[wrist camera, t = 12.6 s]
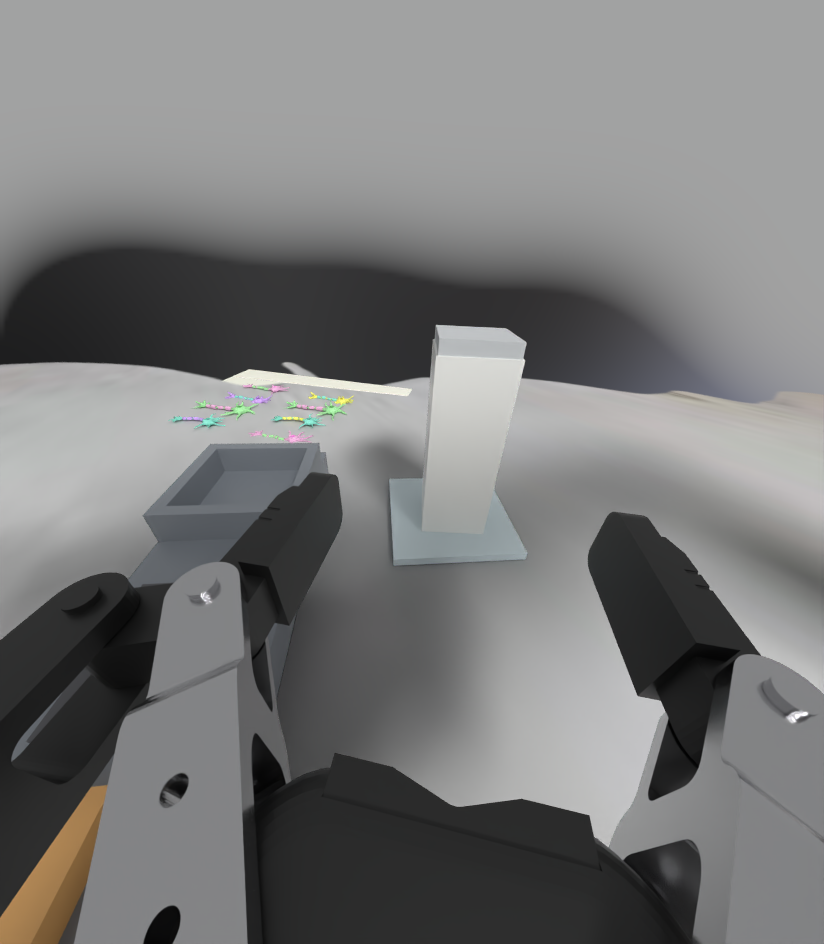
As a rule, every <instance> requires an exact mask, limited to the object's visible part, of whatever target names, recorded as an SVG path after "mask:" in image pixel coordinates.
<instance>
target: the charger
mask: <svg viewBox="0 0 824 944" xmlns="http://www.w3.org/2000/svg"><path fill="white" fill-rule="evenodd" d="M525 347H526V342H525V341H523V340H522V339H521V338H519V337H518V336H516V335H515V334H513V333H512V332H511V331H509V330H507V329H505V328H485V327H464V326H445V325H436V331H435V339H433V349H432V362H431V375H430V388H429V401H428V414H427V428H426V441H425V454H424V468H423V481H422V531H426V532H446V533H467V534H483V533H484V528H485V524H486V520H487V516H488V512H489V508H490V504H491V500H492V495H493V491H494V487H495V483H496V479H497V475H498V471H499V466H500V462H501V458H502V454H503V450H504V446H505V442H506V437H507V433H508V429H509V425H510V421H511V417H512V413H513V409H514V404H515V400H516V396H517V392H518V388H519V384H520V380H521V375H522V371H523V367H524V363H525V360H524V359H523V356H524V352H525Z"/></svg>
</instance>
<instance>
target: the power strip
mask: <svg viewBox="0 0 824 944" xmlns="http://www.w3.org/2000/svg"><path fill="white" fill-rule="evenodd" d="M311 472H318V473H325V474H329V473H328V466H327V459H326V452H320V446H319V443H276V444H210V445H209V446H208V447H207V448H206V449H205V450H204V451H203V453H202V454H201V455H200V456H199V457H198V458H197V459H196V460H195V461H194V462H193V463H192V464H191V465H190V466H189V467H188V468H187V469H186V470H185V471H184V473H183V474H182V475H181V476H180V477H179V478H178V479H177V480H176V481H175V482H174V483H173V484H172V485H171V486H170V487H169V488H168V489H167V490H166V492H165V493H164V494H163V495H162V496H161V497H160V498H159V499H158V500H157V501H156V502H155V503H154V504H153V505H152V506H151V507H150V508H149V509H148V511H147V512H146V513H145V514H144V515H143V517H144V519H145V520H146V522H147V524H148V525H149V527H150V529H151V530H152V532H153V533H154V535H155V537H156V538H157V540H158V543H157V544H156V545H155V547H154V548H153V549H152V550H151V552H150V553H149V554H148V555H147V557H146V558H145V559H144V560H143V562H142V563H141V564H140V565H139V567H138V568H137V569H136V570H135V572H134V573H133V574H132V575H131V577H130V578H129V579H128V581H129V582H130V583H131V584H132V586H133V587H134V588H137V587H145V586H153V585H162V584H170V583H174V582H175V581H176V580H178V579H179V578H180V577H181V576H182V575H184V574H185V573H187V572H188V571H190V570H192V569H194V568H196V567H198V566H201V565H204V564H207V563H212V562H219V561H220V560H221V559H222V558H223V557H224V556H225V555H226V554H227V552H228V551H229V550H230V549H231V548H232V547H233V546H234V544H235V543H236V542H237V541H238V540H239V539H240V538H241V536H242V535H243V534H244V533H245V532H246V531H247V529H248V528H249V527H250V526H251V525H252V524H253V523H254V521H255V520H256V519H257V520H258V519H259V516H260V515H261V513H262V512H263V511H264V510H265V509H267V507H268V505H269V504H270V503H271V502H272V501H273V500H274V499H275V497H276V496H277V495H278V494H280V493H282V492H283V491H285V490H286V489H288V488H290V487H291V486H299V485H300V484H301V483H302V482H303V480H304V479H305V478H306V477H307V476H308V474H309V473H311ZM296 614H297V612H296ZM296 614H295V616H294V618H293V620H292V622H291V624H290V626H288V625H283V624H278V623H274V625H273V627H272V629H271V631H270V632H269V634H268V640H269V648H270V656H271V663H272V671H273V679H274V687H275V694H276V699H277V695H278V691H279V686H280V682H281V678H282V674H283V669H284V665H285V661H286V656H287V652H288V648H289V644H290V639H291V635H292V631H293V627H294V622H295V618H296ZM90 675H91V674H90V673H89V672H88V671H87V670H85V669H83V670H82V671H81V672H80V674H79V675H78V676H77V677H76V678H75V679H74V680H73V681H72V682H71V683H70V684H69V685H68V687H67V688H66V689H65V690H64V691H63V692H62V693H61V694H60V695H59V696H58V697H57V698H56V700H55V701H54V702H53V703H52V704H51V705H50V706H49V707H48V708H47V709H46V710H45V712H44V713H43V714H42V715H41V716H40V717H39V718H38V719H37V720H36V721H35V722H34V723H33V725H32V726H31V727H30V728H29V729H28V730H27V731H26V732H25V733H24V735H23V736H22V737H21V739H20V740H19V741H18V743H17V745H16V747H15V749H14V751H13V754H12V759H11V762H12V761H13V760H14V759H15V758H16V757H18V756H19V755H20V754H21V753H22V752H23V750H24V749H25V748H26V747H27V746H28V745H29V744H30V743H31V741H32V740H33V739H34V738H35V737H36V736H37V735H38V734H39V732H40V731H41V730H42V729H43V728H44V727H45V726H46V725H47V723H48V722H49V721H50V720H51V719H52V718H53V717H54V716H55V714H56V713H57V712H58V711H59V710H60V709H61V708H62V707H63V705H64V704H65V703H66V702H67V701H68V700H69V699H70V698H71V697H72V695H73V694H74V693H75V692H76V691H77V690H78V689H79V688H80V686H81V685H82V684H83V683H84V682H85V681H86V680H87V679H88V677H89V676H90ZM113 758H114V755H113V756H112V758H111V759H110V761H109V762H108V764H107V765H106V766H105V768H104V769H103V771H102V772H101V774H100V775H99V777H98V778H97V779H96V781H95V782H94V784H93V785H92V787H91V788H90V789H89V791H88V792H87V794H86V795H85V797H84V798H83V799H82V801H81V802H80V804H79V805H78V807H77V808H76V810H75V811H74V812H73V814H72V815H71V817H70V818H69V820H68V821H67V822H66V824H65V825H64V827H63V828H62V830H61V831H60V833H59V834H58V835H57V837H56V838H55V840H54V841H53V843H52V844H51V845H50V847H49V848H48V850H47V851H46V853H45V854H44V856H43V857H42V858H41V860H40V861H39V863H38V864H37V866H36V867H35V868H34V870H33V871H32V873H31V874H30V876H29V877H28V878H27V880H26V881H25V883H24V884H23V886H22V887H21V889H20V890H19V891H18V893H17V894H16V896H15V897H14V899H13V900H12V901H11V903H10V904H9V906H8V907H7V909H6V910H5V912H4V913H3V914H2V916H1V917H0V944H74V941H75V936H76V932H77V927H78V922H79V918H80V913H81V908H82V903H83V899H84V894H85V889H86V885H87V880H88V875H89V871H90V866H91V861H92V857H93V852H94V847H95V842H96V838H97V833H98V828H99V824H100V819H101V814H102V810H103V805H104V800H105V795H106V791H107V786H108V781H109V777H110V772H111V767H112V763H113Z"/></svg>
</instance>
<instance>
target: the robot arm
mask: <svg viewBox="0 0 824 944" xmlns="http://www.w3.org/2000/svg"><path fill="white" fill-rule="evenodd" d="M341 522H342V506H341V498H340V490H339V482H338V478H337V476H336V475H333V474H325V473H318V472H311V473H309V474H308V476H307V477H306V478H305V479H304V480H303V482H302V483H301V484H300V485H299V486H291V487H290V488H288V489H286V490H285V491H283V492H282V493H280V494H278V495H277V496H276V497H275V499H274V500H273V501H272V502H271V503H270V504H269V505H268V507H267V509H265V510H264V511H263V512H262V513H261V515H260V516H259V519H258V520H257V519H256V520H255V521H254V523H253V524H252V525H251V526H250V527H249V528H248V529H247V531H246V532H245V533H244V534H243V535H242V536H241V538H240V539H239V540H238V541H237V542H236V543H235V544H234V546H233V547H232V548H231V549H230V550H229V551H228V552H227V554H226V555H225V556H224V557H223V558H222V559H221V560H220V561H219V562H212V563H207V564H204V565H201V566H198V567H196V568H194V569H192V570H190V571H188V572H187V573H185V574H184V575H182V576H181V577H180V578H179V579H178V580H176V581H175V582H174V583H170V584H162V585H153V586H145V587H137V588H134V587H133V586H132V584H131V583H130V582H129V581H128V579H127V578H126V577H125V576H124V575H122V574H119V573H102V574H97V575H94V576H90V577H88V578H85V579H82V580H80V581H78V582H76V583H74V584H72V585H70V586H68V587H67V588H65V589H64V590H62V591H60V592H59V593H58V594H56V595H55V596H54V597H52V598H51V599H50V600H49V601H48V602H46V603H45V604H44V605H43V606H41V607H40V608H39V609H38V610H37V611H35V612H34V613H33V614H32V615H31V616H29V617H28V618H27V619H26V620H24V621H23V622H22V623H21V624H20V625H18V626H17V627H16V628H15V629H13V630H12V631H11V632H10V633H9V634H7V635H6V636H5V637H4V638H3V639H1V640H0V917H1V916H2V914H3V913H4V912H5V910H6V909H7V907H8V906H9V904H10V903H11V901H12V900H13V899H14V897H15V896H16V894H17V893H18V891H19V890H20V889H21V887H22V886H23V884H24V883H25V881H26V880H27V878H28V877H29V876H30V874H31V873H32V871H33V870H34V868H35V867H36V866H37V864H38V863H39V861H40V860H41V858H42V857H43V856H44V854H45V853H46V851H47V850H48V848H49V847H50V845H51V844H52V843H53V841H54V840H55V838H56V837H57V835H58V834H59V833H60V831H61V830H62V828H63V827H64V825H65V824H66V822H67V821H68V820H69V818H70V817H71V815H72V814H73V812H74V811H75V810H76V808H77V807H78V805H79V804H80V802H81V801H82V799H83V798H84V797H85V795H86V794H87V792H88V791H89V789H90V788H91V787H92V785H93V784H94V782H95V781H96V779H97V778H98V777H99V775H100V774H101V772H102V771H103V769H104V768H105V766H106V765H107V764H108V762H109V761H110V759H111V758H112V756H113V755H114V758H113V763H112V767H111V772H110V777H109V781H108V786H107V791H106V795H105V800H104V805H103V810H102V814H101V819H100V824H99V828H98V833H97V838H96V842H95V847H94V852H93V857H92V861H91V866H90V871H89V875H88V880H87V885H86V889H85V894H84V899H83V903H82V908H81V913H80V918H79V922H78V927H77V932H76V936H75V941H74V944H824V694H823V693H822V692H821V691H820V690H819V689H818V688H816V687H815V686H814V685H813V684H811V683H810V682H809V681H808V680H806V679H805V678H804V677H802V676H801V675H799V674H798V673H796V672H795V671H793V670H792V669H790V668H788V667H786V666H785V665H783V664H781V663H779V662H776V661H774V660H772V659H769V658H766V657H763V656H761V655H760V654H759V652H758V651H757V650H756V648H755V647H754V646H753V644H752V643H751V642H750V640H749V639H748V638H747V636H746V635H745V634H744V632H743V631H742V630H741V628H740V627H739V626H738V624H737V623H736V621H735V620H734V619H733V617H732V616H731V615H730V613H729V612H728V611H727V609H726V608H725V607H724V605H723V604H722V603H721V601H720V600H719V599H718V597H717V596H716V595H715V593H714V592H713V591H711V590H709V585H708V584H707V583H706V581H705V580H704V579H703V577H702V576H701V575H698V571H697V569H696V568H695V566H694V565H693V564H692V562H691V561H690V560H689V558H688V557H687V556H686V554H685V553H684V552H682V551H681V550H680V549H679V548H678V547H676V546H675V545H674V544H673V543H671V542H670V541H669V540H668V539H667V538H665V537H661V536H660V534H659V533H658V532H657V530H656V529H655V527H654V526H653V524H652V523H651V522H650V520H649V519H648V518H647V517H645V516H642V515H635V514H627V513H619V512H612V513H610V514H609V515H608V516H607V518H606V520H605V522H604V523H603V525H602V527H601V529H600V531H599V533H598V535H597V537H596V538H595V540H594V542H593V544H592V546H591V548H590V550H589V554H588V567H589V571H590V573H591V576H592V579H593V581H594V584H595V586H596V589H597V592H598V594H599V597H600V599H601V602H602V605H603V607H604V610H605V612H606V615H607V618H608V620H609V623H610V625H611V628H612V631H613V633H614V636H615V638H616V641H617V644H618V646H619V649H620V651H621V654H622V657H623V659H624V662H625V664H626V667H627V670H628V672H629V675H630V677H631V680H632V683H633V685H634V688H635V690H636V693H637V696H640V697H645V698H650V699H655V700H660V701H661V702H662V704H663V707H664V709H665V711H666V712H665V713H664V714H663V715H662V716H661V717H660V719H659V722H658V725H657V728H656V732H655V735H654V738H653V741H652V745H651V748H650V751H649V755H648V758H647V761H646V764H645V768H644V771H643V774H642V777H641V781H640V784H639V787H638V791H637V794H636V796H635V799H634V801H633V803H632V805H631V806H630V808H629V809H628V811H627V812H626V813H625V814H624V816H623V817H622V819H621V820H620V822H619V824H618V826H617V827H616V830H615V832H614V834H613V837H612V839H611V842H610V845H609V848H608V847H607V846H606V845H604V844H603V843H602V842H600V841H599V840H598V839H597V838H595V837H594V835H593V831H592V826H591V821H590V817H589V815H585V814H581V813H577V812H573V811H569V810H565V809H561V808H557V807H553V806H549V805H545V804H541V803H536V802H532V801H528V800H524V799H518V800H510V801H502V802H495V803H487V804H480V805H472V806H465V807H456V806H452V805H450V804H448V803H447V802H445V801H444V800H442V799H441V798H439V797H437V796H436V795H434V794H433V793H431V792H430V791H428V790H427V789H425V788H424V787H422V786H421V785H419V784H418V783H416V782H415V781H413V780H412V779H410V778H408V777H407V776H405V775H404V774H402V773H401V772H399V771H398V770H396V769H395V768H393V767H390V766H386V765H382V764H378V763H374V762H370V761H366V760H362V759H357V758H353V757H349V756H345V755H341V754H337V753H335V754H334V758H333V761H332V765H331V768H325V769H320V770H317V771H313V772H310V773H307V774H305V775H302V776H300V777H298V778H296V779H294V780H292V781H291V777H290V769H289V762H288V755H287V749H286V744H285V740H284V735H283V732H282V728H281V725H280V721H279V716H278V710H277V702H276V694H275V687H274V679H273V671H272V663H271V656H270V648H269V640H268V634H269V632H270V631H271V629H272V627H273V625H274V623H278V624H283V625H288V626H290V624H291V622H292V620H293V618H294V616H295V614H296V612H297V611H298V609H299V607H300V605H301V603H302V601H303V599H304V597H305V595H306V593H307V591H308V589H309V587H310V585H311V584H312V582H313V580H314V578H315V576H316V574H317V572H318V570H319V568H320V566H321V564H322V562H323V560H324V558H325V557H326V555H327V553H328V551H329V549H330V547H331V545H332V543H333V541H334V539H335V537H336V535H337V533H338V531H339V529H340V526H341ZM83 669H85V670H87V671H88V672H89V673H90V674H91V675H90V676H89V677H88V679H87V680H86V681H85V682H84V683H83V684H82V685H81V686H80V688H79V689H78V690H77V691H76V692H75V693H74V694H73V695H72V697H71V698H70V699H69V700H68V701H67V702H66V703H65V704H64V705H63V707H62V708H61V709H60V710H59V711H58V712H57V713H56V714H55V716H54V717H53V718H52V719H51V720H50V721H49V722H48V723H47V725H46V726H45V727H44V728H43V729H42V730H41V731H40V732H39V734H38V735H37V736H36V737H35V738H34V739H33V740H32V741H31V743H30V744H29V745H28V746H27V747H26V748H25V749H24V750H23V752H22V753H21V754H20V755H19V756H18V757H16V758H15V759H14V760H13V761H12V762H11V759H12V754H13V751H14V749H15V747H16V745H17V743H18V741H19V740H20V739H21V737H22V736H23V735H24V733H25V732H26V731H27V730H28V729H29V728H30V727H31V726H32V725H33V723H34V722H35V721H36V720H37V719H38V718H39V717H40V716H41V715H42V714H43V713H44V712H45V710H46V709H47V708H48V707H49V706H50V705H51V704H52V703H53V702H54V701H55V700H56V698H57V697H58V696H59V695H60V694H61V693H62V692H63V691H64V690H65V689H66V688H67V687H68V685H69V684H70V683H71V682H72V681H73V680H74V679H75V678H76V677H77V676H78V675H79V674H80V672H81V671H82V670H83Z"/></svg>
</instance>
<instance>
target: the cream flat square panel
mask: <svg viewBox="0 0 824 944" xmlns="http://www.w3.org/2000/svg"><path fill="white" fill-rule="evenodd" d="M223 381H225V382H229V383H233V384H237V385H242V386H245V387H252V388H258V389H264V390H271V391H273V392H277V391H279V390H281V389H286V388H284V387H282V388H280V387H281V386H280V387H279V386H278V387H277V386H274V385H273V384H278V383H293V384H302V385H311V386H320V387H329V388H338V389H347V390H356V391H365V392H374V393H383V394H392V395H401V396H408V395H409V393H410V392H411V390H412V389H406V388H398V387H390V386H382V385H373V384H365V383H357V382H349V381H340V380H332V379H323V378H316V377H307V376H299V375H291V374H283V373H274V372H266V371H258V370H247V371H244V372H242V373H240V374H237V375H235V376H232V377H230V378H228V379H225V380H223ZM271 384H272V385H273V386H272V387H271V388H270V389H269V388H265V387H256V386H260V385H271ZM282 386H284V385H282ZM288 388H290V387H288ZM285 391H287V390H285ZM273 392H272V393H273ZM228 393H229V394H230V395H231V396H229V397H225V399H226V398H232V397H235V398H244V397H243V396H235V395H233V393H232V394H231V393H230V392H228ZM272 393H271V395H272ZM310 393H311V394H312V395H313V397H309V398H310V399H312V398H320V399H321V398H322V399H328V400H332V401H336V402H334V403H336V404H337V403H340V405H341V406H339V407H335V406H332V403H331V402H330V403H331V404H330V406H327V405H326V403H325V406H326V407H327V408H323V407H314V406H309V407H308V406H306V405H298V403H297V404H296V403H295V400H294V402H293V403H294V404H293V403H289V402H286V403H288V404H290V405H292V406H289V408H292V407H294V408H295V407H296V406H297V407H298V408H303V409H308V408H309V409H316V410H321V411H323V410H324V411H326V412H318V413H321V414H317V415H322V414H326V413H328V414H332V415H333V416H334V414H336V413H337V412H342V413H343V414H345V412H344V411H342V410H340V407H342V406H343V405H346V404H345V403H348V402H350V403H352V402H353V401H354V400H352V402H351V401H350V400H349V399H351V398H352V397H353V396H352V397H351V398H349V399H344V397H343V396H342V397H343V398H339V397H340V396H339V397H338V400H337V399H334V398H332V399H331V398H326V397H325V396H322V397H320V396H317V395H315V394H313V393H312V392H310ZM272 396H273V395H272ZM257 397H259V396H257ZM257 397H256V398H255V399H253V398H247V397H245V398H244V399H246V400H252V401H251V402H252V403H256V404H254V405H252V406H250V407H245V406H243V401H242V404H241V405H240V406H238V405H237V404H238V403H239V402H238V403H237V404H236V406H237V407H235V408H232V407H228V406H227V407H224V406H218V407H217V406H216V405H208V404H210V403H208V404H206V402H205V400H204V402H203V403H199V402H197V401H196V402H197V403H198V404H200V406H197V407H198V408H201V407H208V408H213V409H217V408H218V409H225V410H233V411H232V412H224V413H227V414H232V413H236V414H239V415H238V416H237V418H238V417H239V416H240V415H241V414H244V413H246V412H251V413H252V414H254V413H255V412H253V411H252V410H250V408H251V407H253V406H255V405H257V404H258V403H263V402H265V401H266V400H269V398H270V397H271V396H270V397H269V398H266V399H262V398H263V396H262V397H261V398H257ZM346 401H347V402H346ZM265 403H267V402H265ZM343 403H344V404H343ZM342 404H343V405H342ZM227 414H222V415H227ZM213 415H214V414H213ZM310 415H311V414H310ZM310 415H309V418H307V419H303V418H299V417H294V418H292V417H287V418H286V417H280V416H278V417H277V416H276V417H274V418H275V419H272V420H275V421H278V420H281V419H284V420H287V419H288V420H291V419H293V420H301V421H304V422H305V423H304V424H302V425H301V426H303V425H312V428H313V424H318V423H316V422H315V421H317V420H319V419H320V418H319V419H316V418H317V417H316V418H311V417H310ZM333 416H332V419H333ZM219 418H220V417H219ZM219 418H212V415H211V417H210V418H206V419H203V418H198V417H194V418H193V417H187V418H186V417H183V418H182V417H180V416H179V417H177V416H176V417H175V418H174V419H171V420H172V421H173V422H174V421H176V420H181V419H183V420H193V419H194V420H200V421H203V424H200V425H198V426H201V425H206V426H208V428H209V427H210V425H213V424H216V423H215V422H221V421H218V420H220V419H219ZM214 419H216V420H214ZM221 419H222V418H221ZM223 419H225V418H223ZM168 421H169V420H168ZM275 421H274V422H275ZM216 425H219V424H216ZM318 425H323V424H318ZM198 426H196V427H198ZM220 426H225V425H220ZM301 426H300V427H301ZM325 426H326V425H325ZM194 429H195V428H194ZM299 429H300V428H299ZM262 431H263V430H262ZM262 431H261V432H262ZM261 432H257V431H256V432H255V433H248V434H251V437H252V436H254V435H262V436H264V437H274V438H276V439H278V440H287V441H289V442H291V443H293V442H296V441H306V440H302V439H307V438H309V437H307V438H299V437H303V436H300V435H301V433H300V434H299V435H298V436H296V435H291V432H290V431H289V432H290V434H289V437H288V438H279V436H274V435H269V436H268V435H266V434H261ZM302 433H304V432H302ZM304 436H305V435H304ZM312 436H313V435H312ZM312 436H310V437H312ZM307 442H310V441H307Z"/></svg>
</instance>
